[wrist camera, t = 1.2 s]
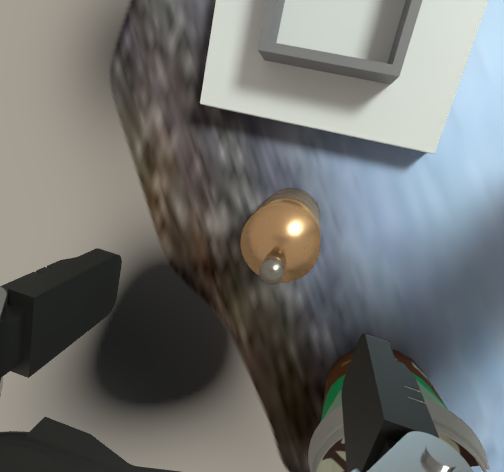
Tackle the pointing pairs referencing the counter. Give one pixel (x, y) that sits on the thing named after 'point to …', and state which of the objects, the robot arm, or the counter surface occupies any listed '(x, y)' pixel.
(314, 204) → the spout can
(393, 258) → the counter surface
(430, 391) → the food container
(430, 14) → the white board with frame
